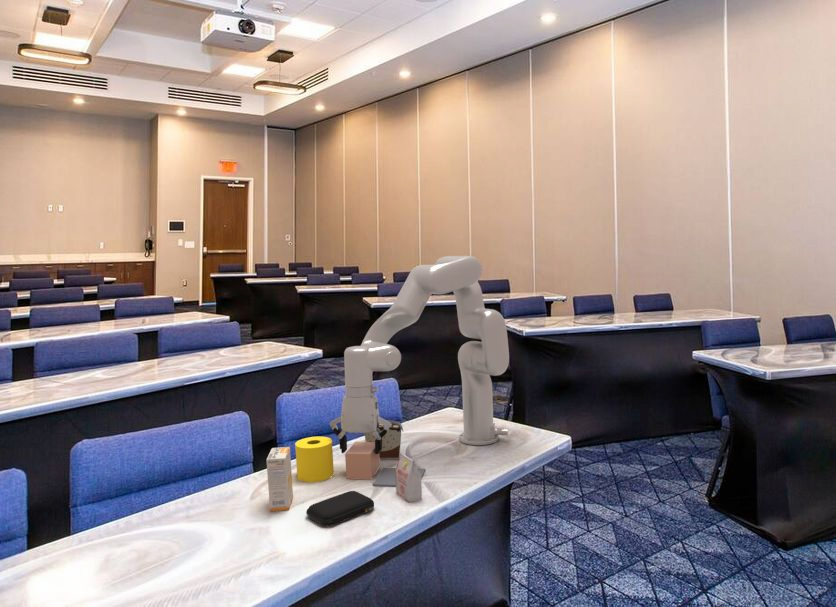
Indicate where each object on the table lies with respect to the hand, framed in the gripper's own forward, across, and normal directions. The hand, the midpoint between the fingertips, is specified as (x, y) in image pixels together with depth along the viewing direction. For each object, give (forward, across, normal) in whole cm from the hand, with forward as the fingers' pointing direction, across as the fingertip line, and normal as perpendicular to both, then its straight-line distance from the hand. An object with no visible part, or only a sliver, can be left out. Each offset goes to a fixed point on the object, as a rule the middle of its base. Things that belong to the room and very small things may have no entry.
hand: (361, 452), depth 164 cm
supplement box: (+7, +14, +22) cm, 27 cm away
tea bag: (+6, -16, +14) cm, 22 cm away
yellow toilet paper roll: (+6, +12, +2) cm, 14 cm away
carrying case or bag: (+7, -2, +25) cm, 26 cm away
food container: (+6, -4, -14) cm, 16 cm away
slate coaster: (+6, -12, +3) cm, 13 cm away
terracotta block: (+6, 0, 0) cm, 6 cm away
